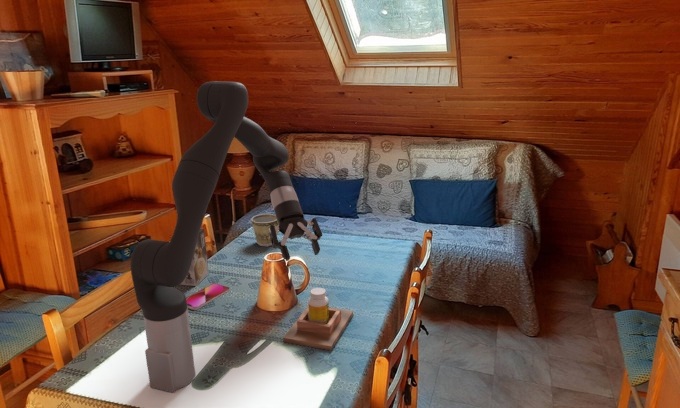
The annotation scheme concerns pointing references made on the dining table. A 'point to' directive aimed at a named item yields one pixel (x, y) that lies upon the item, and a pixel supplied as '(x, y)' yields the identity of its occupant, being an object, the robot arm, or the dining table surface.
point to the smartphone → (205, 296)
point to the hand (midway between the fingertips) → (303, 256)
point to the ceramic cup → (263, 228)
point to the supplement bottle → (318, 306)
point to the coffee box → (198, 263)
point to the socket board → (319, 329)
